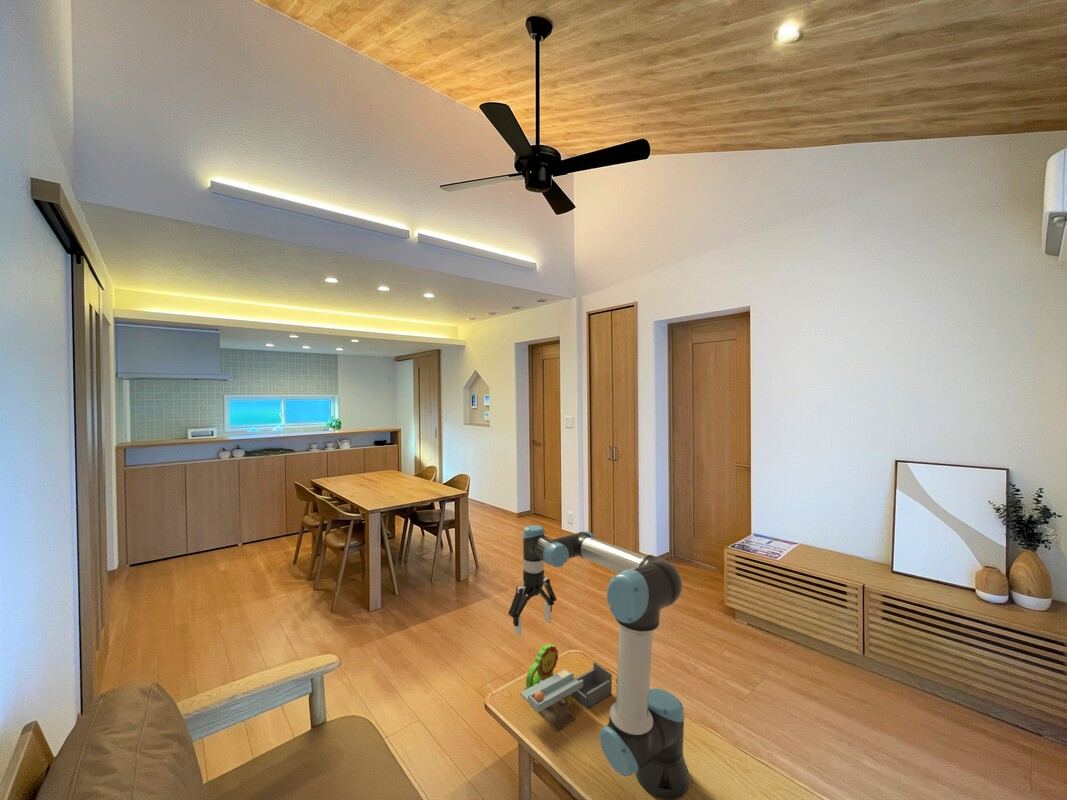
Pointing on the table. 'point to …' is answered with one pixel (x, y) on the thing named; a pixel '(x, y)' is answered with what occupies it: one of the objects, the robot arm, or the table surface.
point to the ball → (539, 696)
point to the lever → (552, 690)
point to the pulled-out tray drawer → (594, 686)
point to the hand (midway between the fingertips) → (533, 627)
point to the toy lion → (542, 665)
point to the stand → (557, 715)
